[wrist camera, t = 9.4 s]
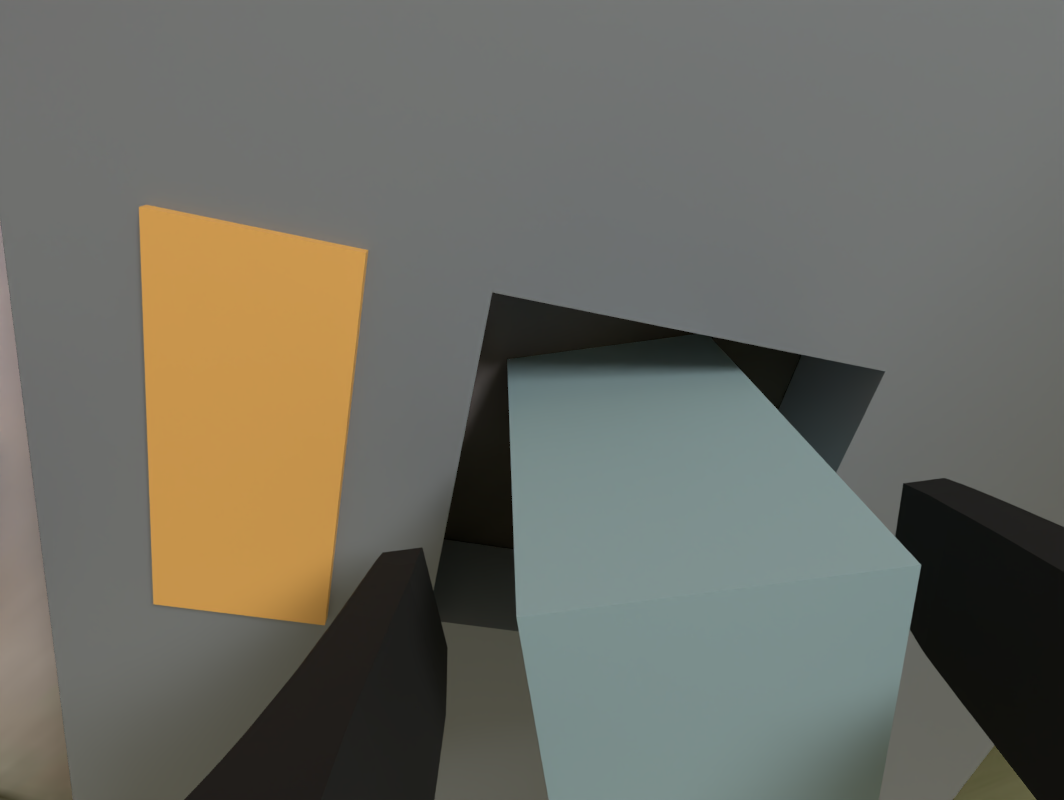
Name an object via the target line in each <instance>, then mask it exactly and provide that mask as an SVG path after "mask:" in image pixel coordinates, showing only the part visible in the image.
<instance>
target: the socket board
mask: <svg viewBox="0 0 1064 800" xmlns="http://www.w3.org/2000/svg"><path fill="white" fill-rule="evenodd" d="M0 221H1V229H2V237H3V245H4V253H5V261H6V269H7V277H8V285H9V293H10V301H11V309H12V317H13V325H14V333H15V341H16V349H17V357H18V365H19V373H20V381H21V389H22V397H23V405H24V413H25V421H26V429H27V437H28V445H29V453H30V461H31V469H32V476H33V484H34V492H35V500H36V508H37V516H38V524H39V532H40V540H41V548H42V556H43V564H44V572H45V580H46V588H47V596H48V604H49V612H50V620H51V628H52V636H53V644H54V652H55V660H56V668H57V676H58V684H59V692H60V700H61V708H62V716H63V724H64V732H65V740H66V748H67V756H68V764H69V772H70V780H71V788H72V796H73V800H184V799H185V798H186V797H187V796H188V795H189V794H190V793H191V792H192V791H193V790H194V789H195V788H196V787H197V785H198V784H199V783H200V782H201V781H202V780H203V779H204V778H205V777H206V776H207V775H208V774H209V773H210V772H211V771H212V770H213V768H214V767H215V766H216V765H217V764H218V763H219V762H220V761H221V760H222V759H223V757H224V756H225V755H226V754H227V753H228V752H229V751H230V749H231V748H232V747H233V746H234V745H235V744H236V743H237V741H238V740H239V739H240V738H241V737H242V736H243V735H244V733H245V732H246V731H247V730H248V729H249V728H250V726H251V725H252V724H253V723H254V722H255V720H256V719H257V718H258V717H259V715H260V714H261V713H262V712H263V711H264V709H265V708H266V707H267V706H268V704H269V703H270V702H271V701H272V700H273V698H274V697H275V696H276V695H277V693H278V692H279V691H280V690H281V689H282V687H283V686H284V685H285V684H286V682H287V681H288V680H289V679H290V678H291V676H292V675H293V674H294V672H295V671H296V670H297V669H298V667H299V666H300V665H301V663H302V662H303V661H304V659H305V658H306V657H307V655H308V654H309V653H310V651H311V650H312V649H313V647H314V646H315V645H316V643H317V642H318V641H319V639H320V638H321V637H322V635H323V634H324V633H325V631H326V630H327V629H328V627H329V626H330V625H331V623H332V622H333V620H334V619H335V618H336V616H337V615H338V613H339V612H340V611H341V609H342V608H343V606H344V605H345V604H346V602H347V601H348V599H349V598H350V597H351V595H352V594H353V592H354V591H355V589H356V588H357V587H358V585H359V584H360V582H361V581H362V579H363V578H364V577H365V575H366V574H367V572H368V571H369V569H370V568H371V567H372V565H373V564H374V563H375V561H376V560H377V559H378V557H379V556H380V555H381V554H382V553H383V552H390V551H398V550H406V549H413V548H421V547H422V548H423V552H424V556H425V560H426V564H427V568H428V572H429V576H430V580H431V584H432V588H433V592H434V595H435V599H436V603H437V607H438V611H439V615H440V619H441V623H442V627H443V631H444V635H445V639H446V643H447V647H448V651H447V697H446V718H445V726H444V734H443V741H442V748H441V756H440V763H439V771H438V778H437V785H436V792H435V799H434V800H549V799H548V793H547V787H546V782H545V776H544V770H543V765H542V759H541V753H540V748H539V742H538V736H537V731H536V725H535V719H534V714H533V708H532V703H531V697H530V691H529V686H528V680H527V674H526V669H525V663H524V657H523V652H522V646H521V640H520V635H519V629H518V623H517V618H516V591H515V563H514V549H508V548H501V547H494V546H487V545H481V544H474V543H467V542H460V541H453V540H446V539H444V535H445V530H446V524H447V519H448V514H449V509H450V504H451V499H452V494H453V489H454V484H455V479H456V474H457V469H458V464H459V459H460V454H461V449H462V443H463V438H464V433H465V428H466V423H467V418H468V413H469V408H470V403H471V398H472V393H473V388H474V383H475V378H476V373H477V368H478V363H479V357H480V352H481V347H482V342H483V337H484V332H485V327H486V322H487V317H488V312H489V307H490V302H491V297H492V292H493V293H498V294H503V295H508V296H513V297H518V298H522V299H527V300H532V301H537V302H542V303H547V304H552V305H557V306H562V307H567V308H572V309H577V310H582V311H587V312H592V313H597V314H602V315H607V316H612V317H617V318H622V319H627V320H632V321H637V322H642V323H647V324H652V325H657V326H662V327H667V328H672V329H677V330H682V331H687V332H692V333H697V334H702V335H707V336H712V337H717V338H722V339H727V340H732V341H737V342H741V343H746V344H751V345H756V346H761V347H766V348H771V349H776V350H781V351H786V352H791V353H796V354H801V358H800V360H799V362H798V365H797V367H796V369H795V372H794V374H793V377H792V379H791V381H790V384H789V386H788V388H787V391H786V393H785V396H784V398H783V400H782V403H781V405H780V407H779V410H778V411H779V412H780V413H781V414H782V415H783V416H784V417H785V418H786V419H787V420H788V422H789V423H790V424H791V425H792V426H793V427H794V428H795V429H796V430H797V431H798V432H799V433H800V434H801V436H802V437H803V438H804V439H805V440H806V441H807V442H808V443H809V444H810V445H811V446H812V447H813V449H814V450H815V451H816V452H817V453H818V454H819V455H820V456H821V457H822V458H823V459H824V460H825V462H826V463H827V464H828V465H829V466H830V467H831V468H832V469H833V470H834V471H835V472H836V473H837V474H838V476H839V477H840V478H841V479H842V480H843V481H844V482H845V483H846V484H847V485H848V486H849V487H850V489H851V490H852V491H853V492H854V493H855V494H856V495H857V496H858V497H859V498H860V499H861V500H862V501H863V503H864V504H865V505H866V506H867V507H868V508H869V509H870V510H871V511H872V512H873V513H874V514H875V516H876V517H877V518H878V519H879V520H880V521H881V522H882V523H883V524H884V525H885V526H886V527H887V528H888V530H889V531H890V532H891V533H892V534H893V535H894V536H895V534H896V528H897V521H898V514H899V508H900V501H901V495H902V488H903V483H909V482H917V481H925V480H932V479H940V478H946V479H949V480H952V481H955V482H958V483H960V484H963V485H966V486H968V487H971V488H973V489H976V490H978V491H981V492H983V493H986V494H988V495H991V496H993V497H995V498H998V499H1000V500H1003V501H1005V502H1007V503H1010V504H1012V505H1014V506H1017V507H1019V508H1021V509H1024V510H1026V511H1028V512H1030V513H1033V514H1035V515H1037V516H1040V517H1042V518H1044V519H1047V520H1049V521H1051V522H1054V523H1056V524H1058V525H1060V526H1063V527H1064V0H0ZM993 746H994V744H993V743H992V741H991V740H990V739H989V737H988V736H987V735H986V733H985V732H984V731H983V730H982V728H981V727H980V726H979V724H978V723H977V722H976V721H975V719H974V718H973V717H972V715H971V714H970V713H969V712H968V710H967V709H966V708H965V706H964V705H963V704H962V703H961V701H960V700H959V699H958V697H957V696H956V695H955V693H954V692H953V691H952V689H951V688H950V687H949V685H948V684H947V683H946V681H945V680H944V679H943V678H942V676H941V675H940V674H939V672H938V671H937V670H936V668H935V667H934V666H933V664H932V663H931V662H930V660H929V659H928V658H927V656H926V655H925V653H924V652H923V650H922V649H921V647H920V646H919V644H918V642H917V641H916V639H915V637H914V636H913V634H912V632H911V631H910V630H909V636H908V641H907V647H906V652H905V658H904V663H903V669H902V674H901V680H900V685H899V691H898V696H897V702H896V707H895V713H894V718H893V724H892V729H891V735H890V740H889V746H888V752H887V757H886V763H885V768H884V774H883V779H882V785H881V790H880V796H879V800H953V799H954V797H955V796H956V795H957V793H958V792H959V791H960V789H961V788H962V787H963V786H964V784H965V783H966V782H967V780H968V779H969V778H970V776H971V775H972V774H973V772H974V771H975V770H976V769H977V767H978V766H979V765H980V763H981V762H982V761H983V759H984V758H985V757H986V755H987V754H988V753H989V752H990V750H991V749H992V748H993Z"/></svg>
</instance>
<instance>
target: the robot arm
mask: <svg viewBox="0 0 1064 800" xmlns="http://www.w3.org/2000/svg"><path fill="white" fill-rule="evenodd" d="M895 537H896V538H897V539H898V540H899V541H900V543H901V544H902V545H903V546H904V547H905V548H906V549H907V550H908V551H909V552H910V553H911V554H912V555H913V557H914V558H915V559H916V560H917V561H918V562H919V563H920V564H921V569H920V575H919V580H918V586H917V591H916V597H915V602H914V608H913V613H912V619H911V624H910V631H911V632H912V634H913V636H914V637H915V639H916V641H917V642H918V644H919V646H920V647H921V649H922V650H923V652H924V653H925V655H926V656H927V658H928V659H929V660H930V662H931V663H932V664H933V666H934V667H935V668H936V670H937V671H938V672H939V674H940V675H941V676H942V678H943V679H944V680H945V681H946V683H947V684H948V685H949V687H950V688H951V689H952V691H953V692H954V693H955V695H956V696H957V697H958V699H959V700H960V701H961V703H962V704H963V705H964V706H965V708H966V709H967V710H968V712H969V713H970V714H971V715H972V717H973V718H974V719H975V721H976V722H977V723H978V724H979V726H980V727H981V728H982V730H983V731H984V732H985V733H986V735H987V736H988V737H989V739H990V740H991V741H992V743H993V744H994V745H995V746H996V748H997V749H998V750H999V752H1000V753H1001V754H1002V755H1003V757H1004V758H1005V759H1006V761H1007V762H1008V763H1009V764H1010V766H1011V767H1012V768H1013V770H1014V771H1015V772H1016V773H1017V775H1018V776H1019V777H1020V779H1021V780H1022V781H1023V783H1024V784H1025V785H1026V786H1027V788H1028V789H1029V790H1030V792H1031V793H1032V794H1033V795H1034V797H1035V798H1036V799H1037V800H1064V527H1063V526H1060V525H1058V524H1056V523H1054V522H1051V521H1049V520H1047V519H1044V518H1042V517H1040V516H1037V515H1035V514H1033V513H1030V512H1028V511H1026V510H1024V509H1021V508H1019V507H1017V506H1014V505H1012V504H1010V503H1007V502H1005V501H1003V500H1000V499H998V498H995V497H993V496H991V495H988V494H986V493H983V492H981V491H978V490H976V489H973V488H971V487H968V486H966V485H963V484H960V483H958V482H955V481H952V480H949V479H946V478H940V479H932V480H925V481H917V482H909V483H903V488H902V495H901V501H900V508H899V514H898V521H897V528H896V534H895ZM447 651H448V647H447V643H446V639H445V635H444V631H443V627H442V623H441V619H440V615H439V611H438V607H437V603H436V599H435V595H434V592H433V588H432V584H431V580H430V576H429V572H428V568H427V564H426V560H425V556H424V552H423V548H422V547H421V548H413V549H406V550H398V551H390V552H383V553H382V554H381V555H380V556H379V557H378V559H377V560H376V561H375V563H374V564H373V565H372V567H371V568H370V569H369V571H368V572H367V574H366V575H365V577H364V578H363V579H362V581H361V582H360V584H359V585H358V587H357V588H356V589H355V591H354V592H353V594H352V595H351V597H350V598H349V599H348V601H347V602H346V604H345V605H344V606H343V608H342V609H341V611H340V612H339V613H338V615H337V616H336V618H335V619H334V620H333V622H332V623H331V625H330V626H329V627H328V629H327V630H326V631H325V633H324V634H323V635H322V637H321V638H320V639H319V641H318V642H317V643H316V645H315V646H314V647H313V649H312V650H311V651H310V653H309V654H308V655H307V657H306V658H305V659H304V661H303V662H302V663H301V665H300V666H299V667H298V669H297V670H296V671H295V672H294V674H293V675H292V676H291V678H290V679H289V680H288V681H287V682H286V684H285V685H284V686H283V687H282V689H281V690H280V691H279V692H278V693H277V695H276V696H275V697H274V698H273V700H272V701H271V702H270V703H269V704H268V706H267V707H266V708H265V709H264V711H263V712H262V713H261V714H260V715H259V717H258V718H257V719H256V720H255V722H254V723H253V724H252V725H251V726H250V728H249V729H248V730H247V731H246V732H245V733H244V735H243V736H242V737H241V738H240V739H239V740H238V741H237V743H236V744H235V745H234V746H233V747H232V748H231V749H230V751H229V752H228V753H227V754H226V755H225V756H224V757H223V759H222V760H221V761H220V762H219V763H218V764H217V765H216V766H215V767H214V768H213V770H212V771H211V772H210V773H209V774H208V775H207V776H206V777H205V778H204V779H203V780H202V781H201V782H200V783H199V784H198V785H197V787H196V788H195V789H194V790H193V791H192V792H191V793H190V794H189V795H188V796H187V797H186V798H185V799H184V800H434V799H435V792H436V785H437V778H438V771H439V763H440V756H441V748H442V741H443V734H444V726H445V718H446V697H447Z"/></svg>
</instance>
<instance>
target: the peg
mask: <svg viewBox="0 0 1064 800" xmlns="http://www.w3.org/2000/svg"><path fill="white" fill-rule="evenodd" d="M507 368H508V396H509V424H510V452H511V480H512V507H513V535H514V563H515V591H516V618H517V623H518V629H519V635H520V640H521V646H522V652H523V657H524V663H525V669H526V674H527V680H528V686H529V691H530V697H531V703H532V708H533V714H534V719H535V725H536V731H537V736H538V742H539V748H540V753H541V759H542V765H543V770H544V776H545V782H546V787H547V793H548V799H549V800H879V796H880V790H881V785H882V779H883V774H884V768H885V763H886V757H887V752H888V746H889V740H890V735H891V729H892V724H893V718H894V713H895V707H896V702H897V696H898V691H899V685H900V680H901V674H902V669H903V663H904V658H905V652H906V647H907V641H908V636H909V630H910V624H911V619H912V613H913V608H914V602H915V597H916V591H917V586H918V580H919V575H920V569H921V564H920V563H919V562H918V561H917V560H916V559H915V558H914V557H913V555H912V554H911V553H910V552H909V551H908V550H907V549H906V548H905V547H904V546H903V545H902V544H901V543H900V541H899V540H898V539H897V538H896V537H895V536H894V535H893V534H892V533H891V532H890V531H889V530H888V528H887V527H886V526H885V525H884V524H883V523H882V522H881V521H880V520H879V519H878V518H877V517H876V516H875V514H874V513H873V512H872V511H871V510H870V509H869V508H868V507H867V506H866V505H865V504H864V503H863V501H862V500H861V499H860V498H859V497H858V496H857V495H856V494H855V493H854V492H853V491H852V490H851V489H850V487H849V486H848V485H847V484H846V483H845V482H844V481H843V480H842V479H841V478H840V477H839V476H838V474H837V473H836V472H835V471H834V470H833V469H832V468H831V467H830V466H829V465H828V464H827V463H826V462H825V460H824V459H823V458H822V457H821V456H820V455H819V454H818V453H817V452H816V451H815V450H814V449H813V447H812V446H811V445H810V444H809V443H808V442H807V441H806V440H805V439H804V438H803V437H802V436H801V434H800V433H799V432H798V431H797V430H796V429H795V428H794V427H793V426H792V425H791V424H790V423H789V422H788V420H787V419H786V418H785V417H784V416H783V415H782V414H781V413H780V412H779V411H778V410H777V409H776V407H775V406H774V405H773V404H772V403H771V402H770V401H769V400H768V399H767V398H766V397H765V396H764V395H763V393H762V392H761V391H760V390H759V389H758V388H757V387H756V386H755V385H754V384H753V383H752V382H751V380H750V379H749V378H748V377H747V376H746V375H745V374H744V373H743V372H742V371H741V370H740V369H739V368H738V366H737V365H736V364H735V363H734V362H733V361H732V360H731V359H730V358H729V357H728V356H727V355H726V353H725V352H724V351H723V350H722V349H721V348H720V347H719V346H718V345H717V344H716V343H715V342H714V340H713V339H712V338H711V337H710V336H707V335H702V334H693V335H685V336H678V337H670V338H663V339H655V340H648V341H640V342H632V343H625V344H617V345H610V346H603V347H595V348H588V349H580V350H573V351H565V352H558V353H550V354H543V355H535V356H528V357H520V358H513V359H507Z"/></svg>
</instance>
